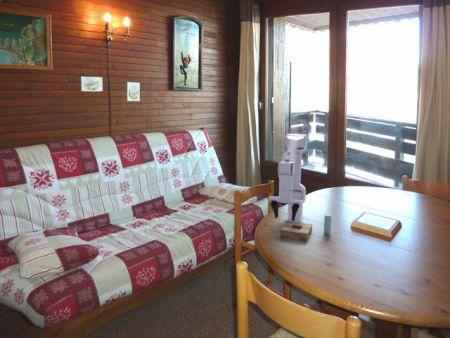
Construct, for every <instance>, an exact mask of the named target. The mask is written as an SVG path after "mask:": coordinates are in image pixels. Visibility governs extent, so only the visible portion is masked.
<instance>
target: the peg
mask: <svg viewBox="0 0 450 338" xmlns="http://www.w3.org/2000/svg"><path fill="white" fill-rule="evenodd" d="M323 221H324V223H323V235H324V236H327V237H328V236H331V232H332V231H331V230H332V215H331V214H324V220H323Z"/></svg>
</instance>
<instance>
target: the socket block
mask: <svg viewBox="0 0 450 338" xmlns="http://www.w3.org/2000/svg"><path fill="white" fill-rule="evenodd" d="M312 232H313V224H311V223H305V222H301V223H299V222H291V221H286V222H285V223H284V225H283V226H282V227H281V229H280V238H282V239H287V240H289V239H291V240H297V241H303V242H304V241H305V242H308V241H309V239H310V236H311V234H312Z"/></svg>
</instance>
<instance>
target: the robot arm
mask: <svg viewBox="0 0 450 338" xmlns="http://www.w3.org/2000/svg"><path fill="white" fill-rule="evenodd" d="M284 145H285V147H286V148H287V150H286V151H285V152H284V153H283V155H282V159H281V161H280V162H278V166H277V175H278V179H279V180H278V184H279V185H278V196H275V195H274V196H273V195H270V196H269V197H268V202H270V203H269V204H270V207H271V209H272V211H273V214H274V218H275V219H277V218H279V207H280V206H279V205H280V203H281V204H287V217H286V218H285V220H284V221H291V222H299V223H303V222H302V221H303V220H304V218H305V215H303V213H304V212H303V209H304V207H303V206H304V205H303V204H304V203H305V202H306V200H307V198H306V197H307V190H306V187H305V186H304V185H303V184H302V183H301V177H302V174H301V173H302V159H303V158H302V156H303V153H304V152H305V151H307V149H308V135H307V134H306V133H305V134H297V133H296V134H295V133H294V134H293V133H286V135H285V137H284Z"/></svg>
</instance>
